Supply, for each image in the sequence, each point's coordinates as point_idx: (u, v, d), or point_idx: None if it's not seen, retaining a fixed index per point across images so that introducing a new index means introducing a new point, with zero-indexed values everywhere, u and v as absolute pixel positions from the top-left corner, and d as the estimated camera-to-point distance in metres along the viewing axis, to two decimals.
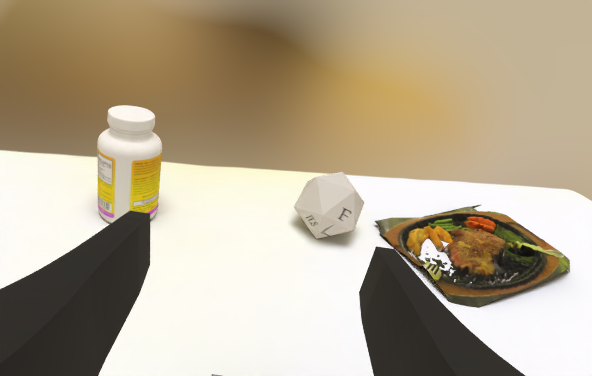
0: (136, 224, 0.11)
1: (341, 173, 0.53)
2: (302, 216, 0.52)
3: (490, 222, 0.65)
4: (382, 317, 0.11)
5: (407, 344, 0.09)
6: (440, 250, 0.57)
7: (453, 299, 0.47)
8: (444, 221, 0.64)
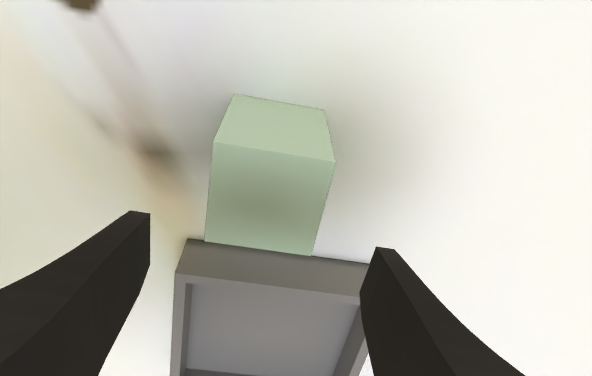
0: (136, 224, 0.11)
1: None
2: None
3: None
4: (382, 317, 0.11)
5: (407, 344, 0.09)
6: None
7: None
8: None
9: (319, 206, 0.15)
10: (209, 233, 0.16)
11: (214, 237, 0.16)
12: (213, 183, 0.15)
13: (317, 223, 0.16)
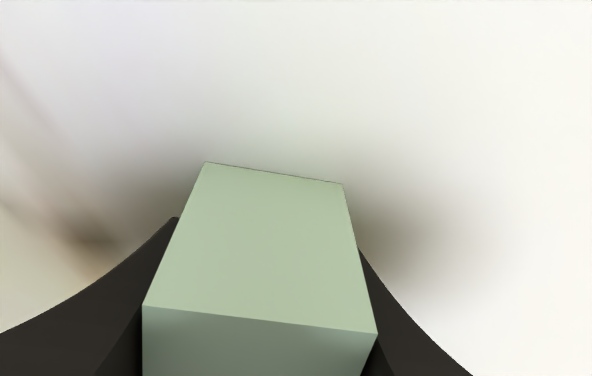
0: None
1: None
2: None
3: None
4: None
5: None
6: None
7: None
8: None
9: None
10: None
11: None
12: (150, 364, 0.08)
13: None
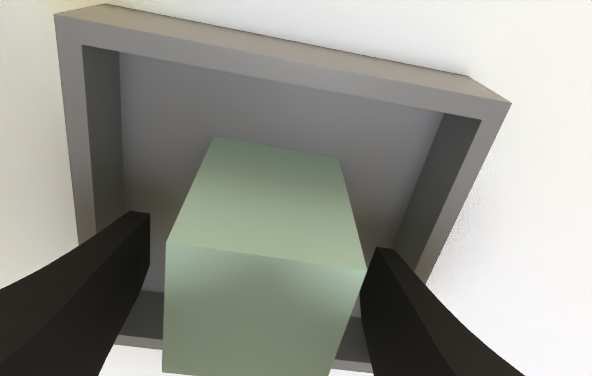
0: (136, 224, 0.11)
1: None
2: None
3: None
4: (382, 317, 0.11)
5: (407, 344, 0.09)
6: None
7: None
8: None
9: (338, 328, 0.10)
10: (169, 363, 0.10)
11: (177, 367, 0.10)
12: (170, 299, 0.09)
13: (334, 349, 0.10)
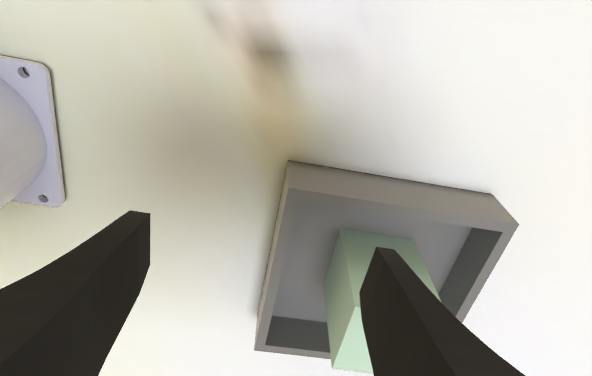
0: (136, 224, 0.11)
1: None
2: None
3: None
4: (382, 317, 0.11)
5: (407, 344, 0.09)
6: None
7: None
8: None
9: None
10: (337, 363, 0.19)
11: (341, 366, 0.20)
12: (349, 332, 0.18)
13: None
